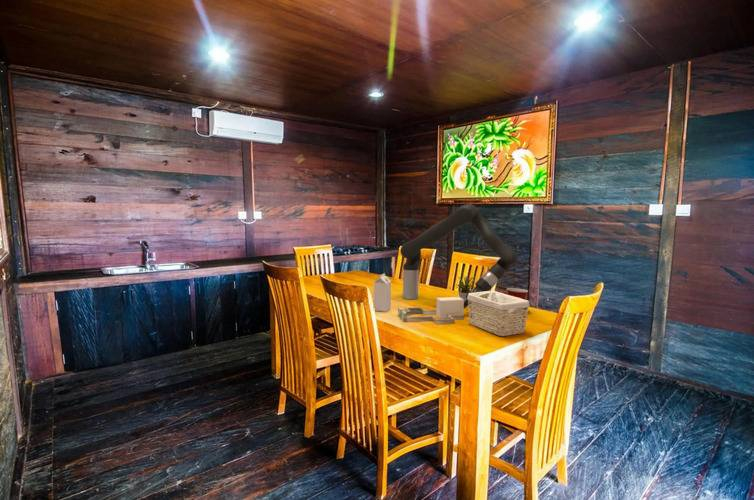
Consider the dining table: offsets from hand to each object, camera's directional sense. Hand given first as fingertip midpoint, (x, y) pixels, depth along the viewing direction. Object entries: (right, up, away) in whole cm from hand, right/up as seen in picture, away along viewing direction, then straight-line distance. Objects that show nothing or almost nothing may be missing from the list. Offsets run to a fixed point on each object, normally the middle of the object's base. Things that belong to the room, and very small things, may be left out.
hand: (463, 306), depth 195 cm
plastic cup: (+30, -4, +9) cm, 31 cm away
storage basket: (+11, -7, -19) cm, 23 cm away
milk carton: (-40, -3, +10) cm, 42 cm away
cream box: (-7, -5, -1) cm, 8 cm away
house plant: (+8, -2, +27) cm, 29 cm away
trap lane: (-17, -5, -3) cm, 18 cm away
